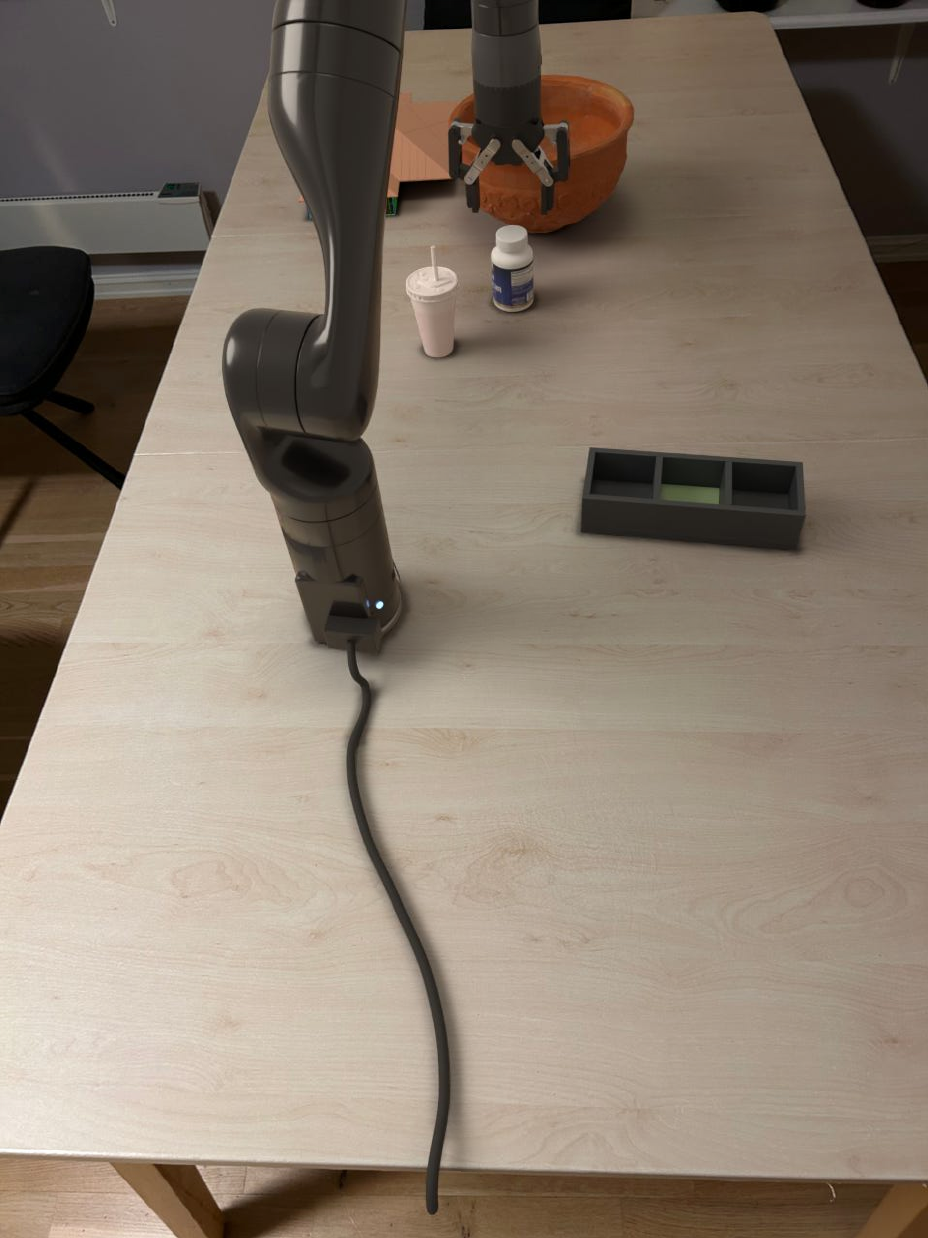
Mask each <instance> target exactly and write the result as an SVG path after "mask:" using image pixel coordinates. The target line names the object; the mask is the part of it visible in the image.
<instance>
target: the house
mask: <svg viewBox="0 0 928 1238" xmlns="http://www.w3.org/2000/svg"><path fill="white" fill-rule="evenodd" d="M412 99H413V92H402V93H401V92H400V94H399V104H398V113H397V121H396V129H395V136H394V144H393V152H392V161H391V169H390V177H389V186H388V195H387V202H388V206H389V208H388V209H391V206H390V205H392V208H393V209H392V210H393V213H391V212H389V213H390V214H387V216H395V215H396V211H397V206H398V205H397V204H398V198H399V189H400V183H405V182H408V183H409V182H422V181H423V182H425V181H439V180H440V181H441V180H443V181H444V180H453V179H452V178H451V177H450V176H449V153H448V131H449V129H448V121H449V117H450V115H451V113H452V112H453V110H454V108H455V107H456V106H457V105H458V104H459V103H458V102H459V101H458V100H448V101H447V100H446V101H431V102H430V101H429V102H413V103H412V101H413V100H412ZM389 198H391V200H392V201H391V202H390V199H389ZM298 203H305V202H304V200H303V197H302V195H301V193H300V194H299V198H298ZM305 206H306V205H305ZM306 211H307V216H308V220H311V215H310V213H309V211H308V208H307V206H306Z"/></svg>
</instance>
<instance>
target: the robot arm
mask: <svg viewBox="0 0 928 1238" xmlns="http://www.w3.org/2000/svg"><path fill="white" fill-rule="evenodd" d="M407 4H408V0H276V1H275V4H274V9H273V14H272V22H271V37H270V48H269V49H270V50H269V64H268V65H269V66H268V80H267V98H266V99H267V102H266V103H267V113H268V114H267V115H268V118H269V122H270V126H271V130H272V133H273V135H274V138H275V141H276V143H277V146H278V148H279V150H280V153H281V155H282V158H283V160H284V162H285V164H286V166H287V168H288V170H289V172H290V175H291V178H292V179H293V181H294V184H295V185H296V187H297V189H298V191H299V193H300V194H301V195H302V197H303V200H304V202H303V203H304V205H305V206H307V207H306V209H307V208H308V211H309V213H310V215H311V217H310V219H311V220H312V223H313V225H314V228H315V231H316V235H317V238H318V241H319V245H320V248H321V255H322V261H323V271H324V286H325V287H324V288H325V289H324V291H325V295H324V296H325V297H324V299H325V301H324V312H323V313H314V312H306V311H305V312H304V311H297V310H288V309H287V310H286V309H277V308H267V307H256V308H255V307H254V308H250V309H248V310H245V311H243V312H242V313H240V314H239V315H238V316H237V317H236V318H235V319H234V320H233V322H232V323H231V325H230V326H229V328H228V331H227V333H226V336H225V339H224V341H223V342H224V343H223V346H222V347H223V348H222V356H221V373H222V383H223V390H224V394H225V398H226V401H227V405H228V408H229V411H230V414H231V417H232V419H233V422H234V425H235V428H236V430H237V432H238V436H239V437H240V440H241V442H242V444H243V447H244V449H245V451H246V454H247V457H248V459H249V462H250V464H251V466H252V470H253V472H254V474H255V477H256V479H257V481H258V482H259V484H260V486H261V487H262V488H263V489H264V490H265V491H266V492H268V493H269V495H270V498H271V499H270V500H271V501H272V503H273V506H274V510H275V514H276V516H277V520H278V523H279V526H280V529H281V533H282V536H283V540H284V542H285V545H286V549H287V551H288V555H289V558H290V561H291V565H292V568H293V570H294V574H295V577H294V583H295V587H296V589H297V593H298V596H299V599H300V601H301V605H302V608H303V611H304V615H305V617H306V619H307V620H306V621H307V623H308V626H309V629H310V632H311V636H312V639H313V641H314V642H315V643H320V644H326V646H327V648H328V649H329V650H330V649H331V650H340V651H346V659H347V667H348V671H349V674H350V676H351V678H352V680H353V681H354V682H355V683H356V684H358V685H359V686H360V691H361V698H362V700H361V701H362V702H361V708H360V712H359V715H358V717H357V720H356V723H355V725H354V727H353V729H352V731H351V734H350V736H349V739H348V743H347V748H346V757H345V759H346V763H345V765H346V779H347V786H348V792H349V798H350V801H351V805H352V809H353V813H354V817H355V821H356V823H357V826H358V830H359V833H360V835H361V838H362V842H363V844H364V846H365V849H366V852H367V854H368V856H369V858H370V859H371V863H372V865H373V866H374V869H375V870H376V872H377V874H378V877H379V879H380V881H381V883H382V885H383V887H384V889H385V890H386V893H387V895H388V898H389V900H390V902H391V904H392V907H393V909H394V912H395V914H396V916H397V918H398V920H399V922H400V924H401V926H402V929H403V932H404V934H405V935H406V939H407V940H408V942H409V944H410V947H411V949H412V951H413V954H414V957H415V959H416V962H417V964H418V967H419V970H420V974H421V976H422V979H423V983H424V986H425V991H426V995H427V998H428V999H427V1000H428V1003H429V1007H430V1012H431V1017H432V1022H433V1027H434V1033H435V1034H434V1035H435V1042H436V1050H437V1051H436V1052H437V1053H436V1054H437V1069H438V1071H437V1072H438V1097H437V1109H436V1115H435V1122H434V1127H433V1133H432V1138H431V1142H430V1143H431V1144H430V1149H429V1154H428V1160H427V1168H426V1178H425V1207H426V1211H427V1213H428V1214H429V1215H430V1216H435V1214H437V1213H438V1210H439V1178H440V1177H439V1176H440V1169H441V1168H440V1167H441V1160H442V1154H443V1148H444V1143H445V1138H446V1134H447V1133H446V1132H447V1127H448V1120H449V1113H450V1102H451V1069H450V1067H451V1066H450V1052H449V1051H450V1049H449V1042H448V1033H447V1027H446V1022H445V1016H444V1011H443V1008H442V1003H441V999H440V995H439V994H440V993H439V991H438V987H437V983H436V979H435V977H434V976H435V975H434V973H433V969H432V967H431V964H430V960H429V958H428V955H427V953H426V951H425V948H424V946H423V943H422V941H421V939H420V937H419V935H418V932H417V929H416V927H415V926H414V924H413V922H412V920H411V917H410V915H409V913H408V911H407V909H406V907H405V903H404V902H403V899H402V898H401V895H400V893H399V890H398V888H397V887H396V884H395V882H394V880H393V878H392V876H391V874H390V872H389V870H388V868H387V866H386V865H385V862H384V860H383V858H382V856H381V854H380V852H379V850H378V847H377V844H376V843H375V840H374V837H373V835H372V832H371V829H370V825H369V823H368V820H367V816H366V813H365V811H364V806H363V803H362V799H361V794H360V791H359V786H358V785H359V784H358V780H357V779H358V778H357V765H356V764H357V763H356V762H357V759H356V758H357V757H356V756H357V747H358V743H359V739H360V737H361V734H362V732H363V730H364V727H365V725H366V723H367V721H368V718H369V714H370V710H371V707H372V692H371V687H370V683H369V681H368V680H367V678H365V677H364V676H363V675H362V674H361V673H360V670H359V668H358V663H357V662H358V661H357V654H356V653H359V652H360V653H367V654H376V655H377V654H378V653H379V649H380V646H381V642H382V639H383V636H385V635H386V634H388V633H389V632H390V631H391V629H393V628H394V627H395V625H396V624H397V623H398V621H399V620H400V619H399V618H400V617H401V613H402V611H403V610H402V609H403V601H402V595H401V591H400V588H399V584H398V580H399V583H402V580H401V576H400V573H399V570H398V569H397V566H396V563H395V561H394V557H393V555H392V548H391V543H390V538H389V532H388V527H387V522H386V517H385V512H384V506H383V501H382V496H381V490H380V484H379V480H378V474H377V469H376V464H375V459H374V456H373V453H372V449H370V447H369V445H368V443H367V442H366V441H365V439H364V438H362V436H363V435H364V433H365V432H366V431H367V429H368V427H369V424H370V422H371V419H372V417H373V413H374V410H375V405H376V400H377V393H378V386H379V376H380V362H381V360H380V359H381V358H380V357H381V337H382V336H381V334H382V333H381V331H382V297H383V295H382V294H383V265H384V263H383V262H384V260H383V259H384V242H385V241H384V240H385V227H386V216H387V205H388V198H387V195H388V186H389V177H390V169H391V161H392V152H393V144H394V136H395V129H396V121H397V113H398V104H399V94H400V93H401V85H402V84H401V83H402V74H403V73H402V72H403V60H404V49H405V36H406V34H405V33H406V20H407V7H408V6H407ZM470 11H471V47H470V53H471V56H470V57H471V72H472V73H471V74H472V89H473V90H472V91H473V93H474V109H475V122H474V124H468V123H462V121H461V120H460V119H458V118H455V119H453V121H452V123H451V126H450V128H449V131H448V153H449V176H450V177H451V178H452V179H451V180H456V179H459V180H461V181H462V182H463V181H464V182H463V184H464V183H465V185H464V188H465V200H466V206H467V208H468V209H471V213H472V214H479V212H480V209H481V208H480V185H479V176H478V175H479V174H480V173H481V172H482V171H483V169H484V168H485V167H486V165H487V164H488V162H489V161H491V162H493V163H495V165H505V164H510V165H514V166H521V165H522V164H523V163H526V164H527V166H528V167H529V168H530V170H531V171H532V172H533V173H535V174H536V175H537V176H538V177H539V179H540V180H541V181H542V186H541V215H547V214H548V211H551V210H552V208H553V205H554V189H555V183H556V182H559V181H562V182H565V181H567V180H568V177H569V171H570V168H571V161H570V135H569V123H568V121H566V120H561V121H560V122H559V124H552V125H545V124H544V122H543V120H542V117H541V75H542V65H543V55H542V42H541V41H542V40H541V33H540V24H539V0H470ZM468 136H472V137H473V139H474V141H475V142H476V143H477V144H478V146H479V147H480V150H479V151H478V153H477V155H476V156H475V158H474V159H473V161H472V162H471V164H470V165H466V164H464V163H462V145H463V144H465V143H466V141H467V138H468ZM544 137H548V138H549V139H550V142H551V144H552V145H553V146H557V163H558V166H555V167H553V166H552V164H551V163H550V162H549V160H548V159H547V157H546V154H545V152H544V151H543V149H542V148H541V147H540V145H539V144H540V143H541V142H542V140H543V139H544ZM397 577H398V579H397Z"/></svg>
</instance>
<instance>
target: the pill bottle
mask: <svg viewBox="0 0 928 1238" xmlns="http://www.w3.org/2000/svg"><path fill="white" fill-rule="evenodd" d="M528 240H529V239H528V232H527V231H526V229H525V228H523V227H521V226H518V225H509V224H507V225H505V226H504V225H503V226H502V227H499V228H498V229H497V231H496V232H495V246H494V247H493V249H492V251H491V253H490V263H491V285H492V300H493V304H494V306H495V307H496V308H498V309H499V310H500V311H504V312H507V313H517V312H521V311H524V310H527V309H528V308H529V307H530V306H531V305H533V302H534V296H535V295H534V294H535V293H534V290H535V289H534V288H535V287H534V286H535V285H534V284H535V283H534V251H533V249H532V247H531V246H530V245H529V244H528Z"/></svg>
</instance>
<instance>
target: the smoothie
mask: <svg viewBox="0 0 928 1238" xmlns="http://www.w3.org/2000/svg"><path fill="white" fill-rule="evenodd" d="M430 255H431V265H432V266H426V267H425V266H424V267H422V268H419V269H416V270H414V271H413V272H411V273H410V274H409V276H407V278H406V280H405V292H406V294H407V295H408V297H409V298H410V301H411V304H412V308H413V312H414V316H415V320H416V323H417V327H418V331H419V334H420V335H419V336H420V338H421V342H422V346H423V351H424V352H425V354H426V355H427V356H429V357H432V358H443V357H447V356H449V355H450V354H451V353H453V351H454V342H455V341H454V340H455V324H456V323H455V322H456V302H457V292H458V290H459V287H460V284H459V276H458V275H457V273H456V272H455V271H453V270H452V269H450V268H448V267H444V266H439V265H438V260H437V259H438V258H437V249H436V245H430Z"/></svg>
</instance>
